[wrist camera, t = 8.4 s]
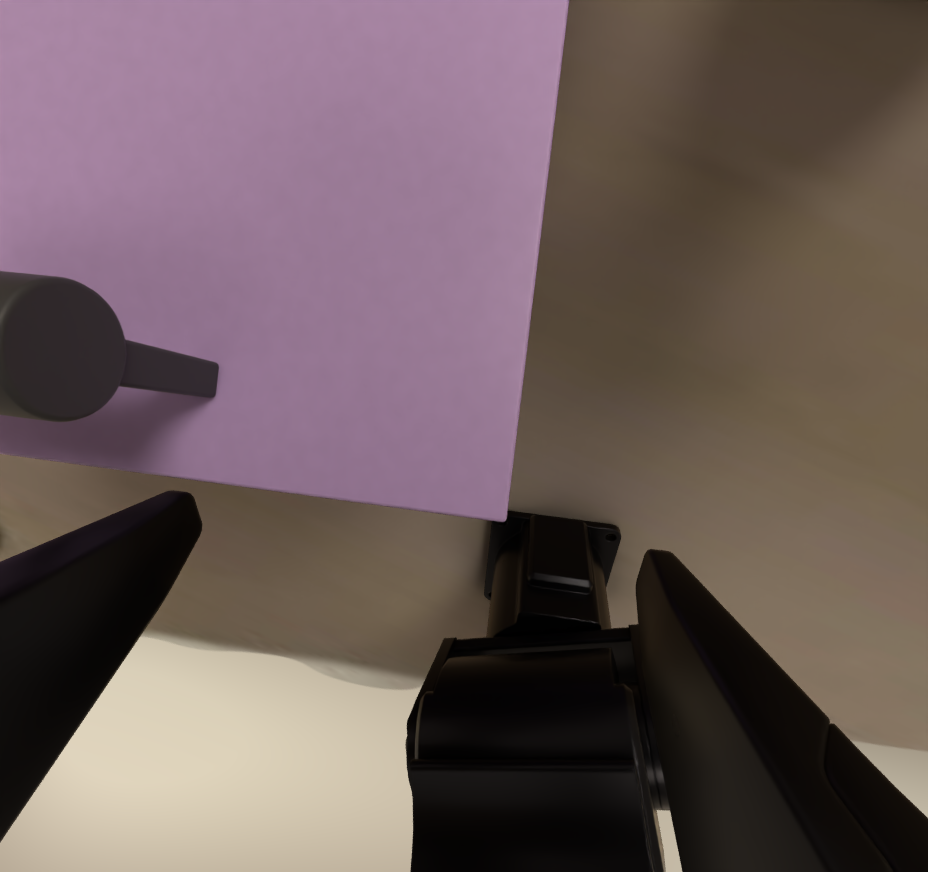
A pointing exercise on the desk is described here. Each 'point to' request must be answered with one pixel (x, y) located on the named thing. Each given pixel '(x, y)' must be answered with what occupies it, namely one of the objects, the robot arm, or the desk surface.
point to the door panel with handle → (275, 240)
